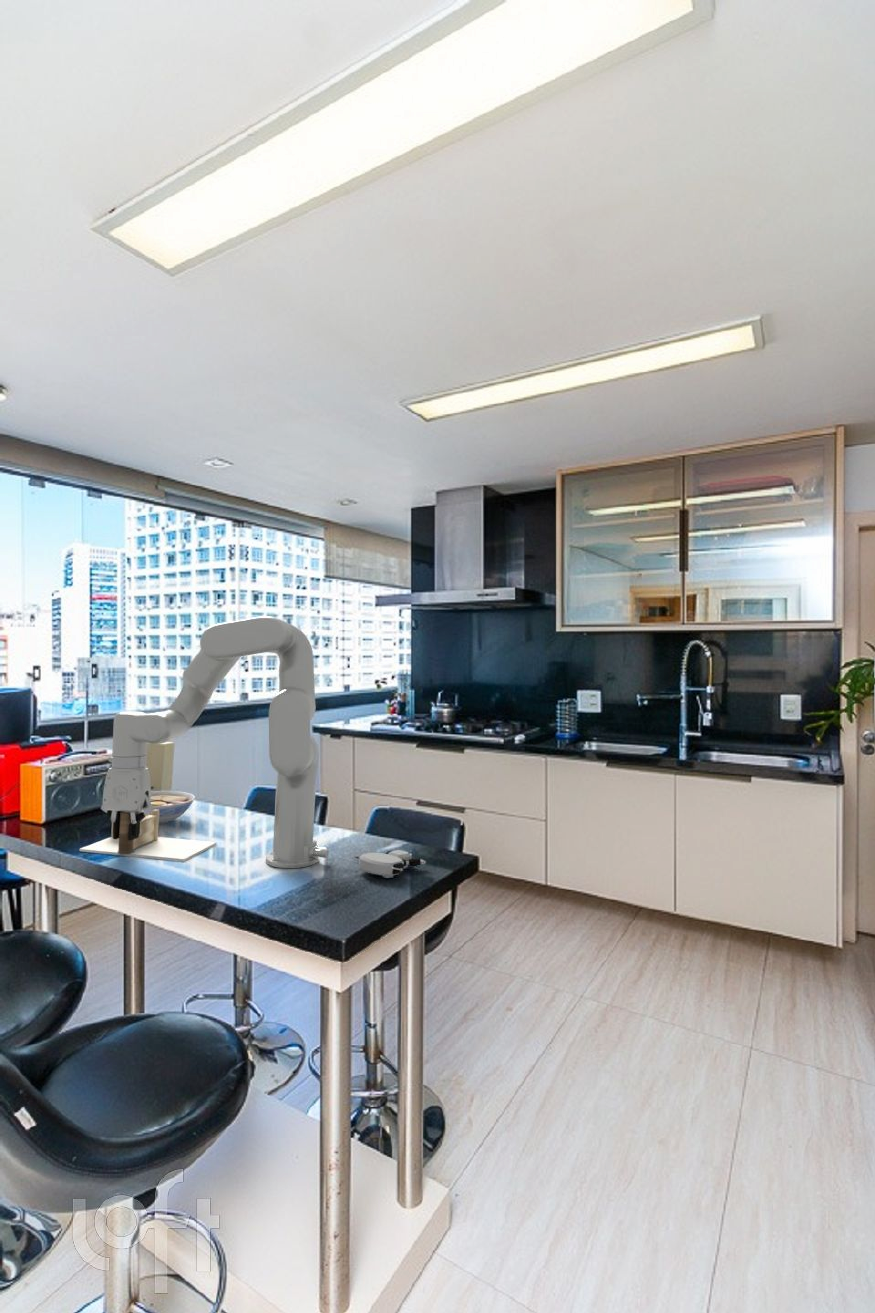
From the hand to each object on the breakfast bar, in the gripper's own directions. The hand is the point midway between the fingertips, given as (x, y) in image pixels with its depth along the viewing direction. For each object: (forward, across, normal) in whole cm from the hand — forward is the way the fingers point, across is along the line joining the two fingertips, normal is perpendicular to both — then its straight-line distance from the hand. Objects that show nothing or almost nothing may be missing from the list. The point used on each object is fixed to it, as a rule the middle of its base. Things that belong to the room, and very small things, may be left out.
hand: (126, 837), depth 149 cm
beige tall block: (+4, -24, +48) cm, 54 cm away
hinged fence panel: (+3, 0, +5) cm, 6 cm away
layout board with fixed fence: (+4, +1, +7) cm, 8 cm away
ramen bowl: (+5, -12, +29) cm, 32 cm away
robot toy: (+6, +64, +7) cm, 65 cm away
